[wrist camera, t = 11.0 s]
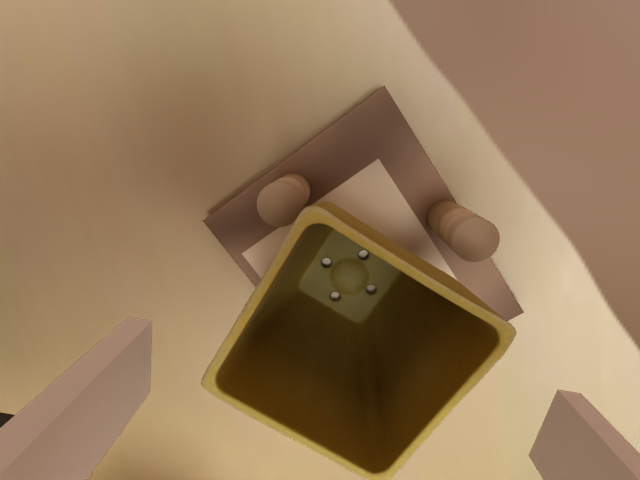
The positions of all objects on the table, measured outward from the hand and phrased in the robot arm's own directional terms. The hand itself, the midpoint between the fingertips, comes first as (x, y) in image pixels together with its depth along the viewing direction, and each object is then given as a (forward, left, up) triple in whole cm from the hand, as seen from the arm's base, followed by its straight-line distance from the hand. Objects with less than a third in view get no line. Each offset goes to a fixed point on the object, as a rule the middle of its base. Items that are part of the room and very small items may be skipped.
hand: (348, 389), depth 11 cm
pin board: (0, +1, -12) cm, 12 cm away
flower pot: (0, 0, -11) cm, 11 cm away
